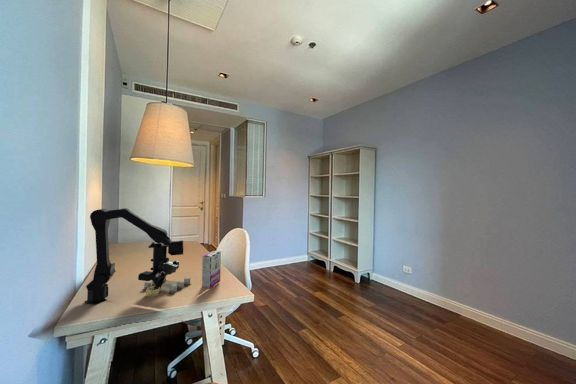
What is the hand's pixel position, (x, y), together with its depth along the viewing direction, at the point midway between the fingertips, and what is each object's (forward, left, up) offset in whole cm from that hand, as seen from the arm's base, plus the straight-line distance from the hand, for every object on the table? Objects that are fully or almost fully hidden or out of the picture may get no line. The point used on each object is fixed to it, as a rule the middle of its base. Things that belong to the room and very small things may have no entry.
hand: (159, 289), depth 111 cm
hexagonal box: (-4, 0, -1) cm, 4 cm away
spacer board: (+3, 0, -2) cm, 3 cm away
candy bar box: (+17, -17, -2) cm, 24 cm away
